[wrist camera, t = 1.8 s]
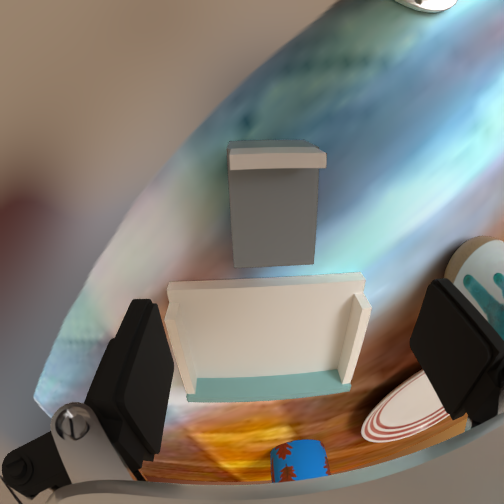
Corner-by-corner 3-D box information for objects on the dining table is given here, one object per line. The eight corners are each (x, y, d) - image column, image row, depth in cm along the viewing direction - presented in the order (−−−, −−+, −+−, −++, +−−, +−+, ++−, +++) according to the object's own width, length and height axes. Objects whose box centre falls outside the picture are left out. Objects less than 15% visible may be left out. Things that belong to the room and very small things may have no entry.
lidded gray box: (230, 138, 22) (224, 155, 14) (298, 137, 22) (331, 153, 14) (235, 230, 26) (233, 289, 18) (297, 227, 26) (322, 283, 18)
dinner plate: (494, 365, 42) (501, 376, 39) (394, 439, 50) (398, 450, 47) (468, 307, 33) (480, 321, 30) (326, 414, 41) (330, 430, 38)
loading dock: (169, 281, 28) (159, 310, 24) (360, 271, 28) (376, 297, 24) (191, 373, 35) (187, 401, 31) (340, 364, 35) (349, 391, 31)
